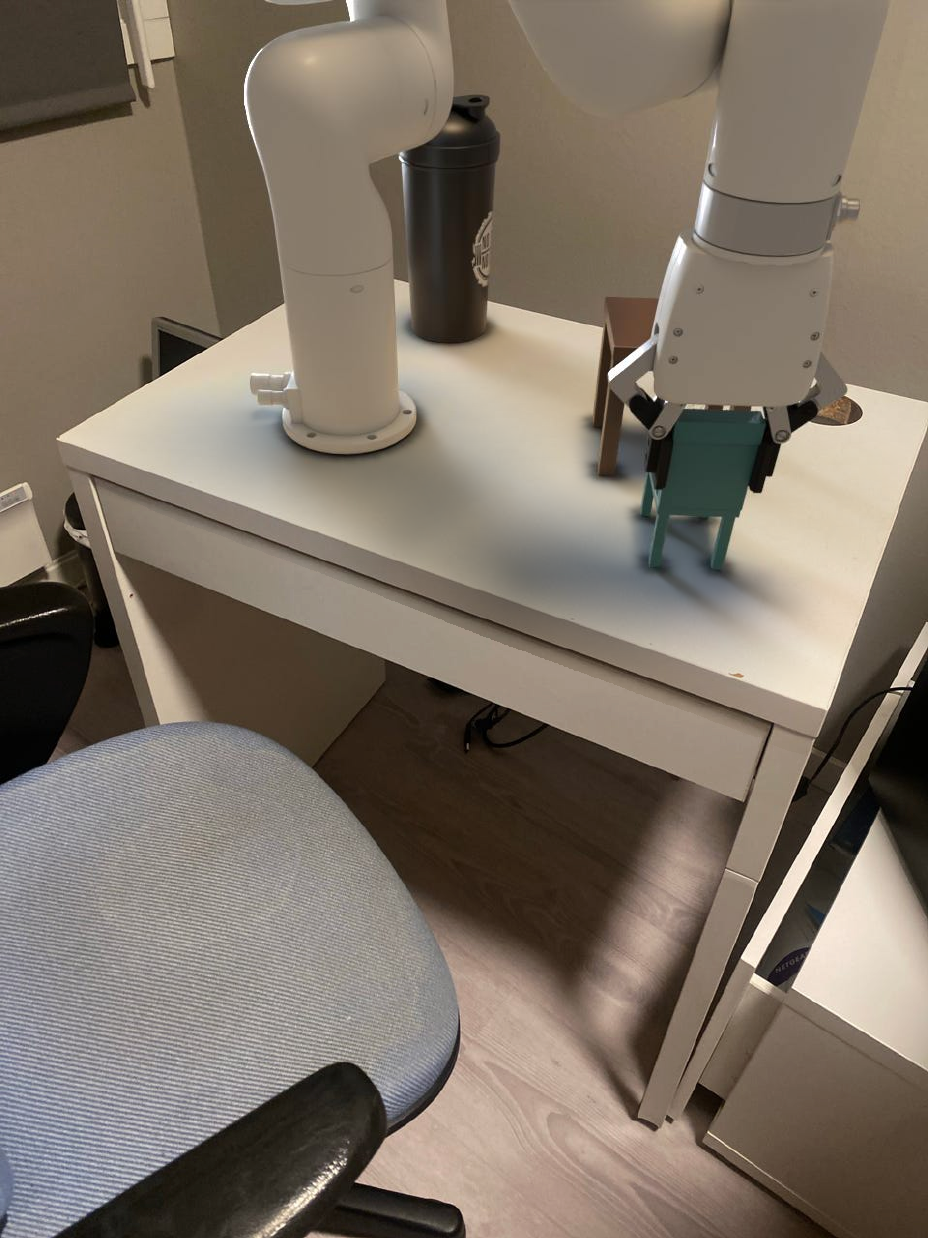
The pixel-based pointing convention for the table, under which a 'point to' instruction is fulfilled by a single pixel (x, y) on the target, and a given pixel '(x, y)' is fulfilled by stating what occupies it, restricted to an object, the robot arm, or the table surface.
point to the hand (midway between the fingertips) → (704, 478)
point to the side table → (620, 338)
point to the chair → (706, 473)
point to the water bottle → (451, 223)
